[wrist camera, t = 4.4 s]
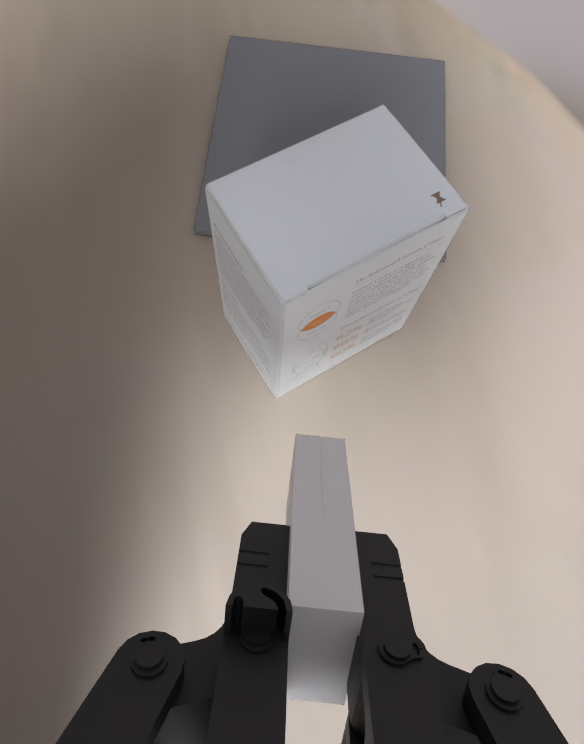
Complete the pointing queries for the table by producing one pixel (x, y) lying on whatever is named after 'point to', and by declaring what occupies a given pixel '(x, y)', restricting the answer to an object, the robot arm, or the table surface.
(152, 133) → the table surface
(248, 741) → the robot arm
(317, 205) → the small box
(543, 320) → the table surface
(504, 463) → the table surface
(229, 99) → the mat
